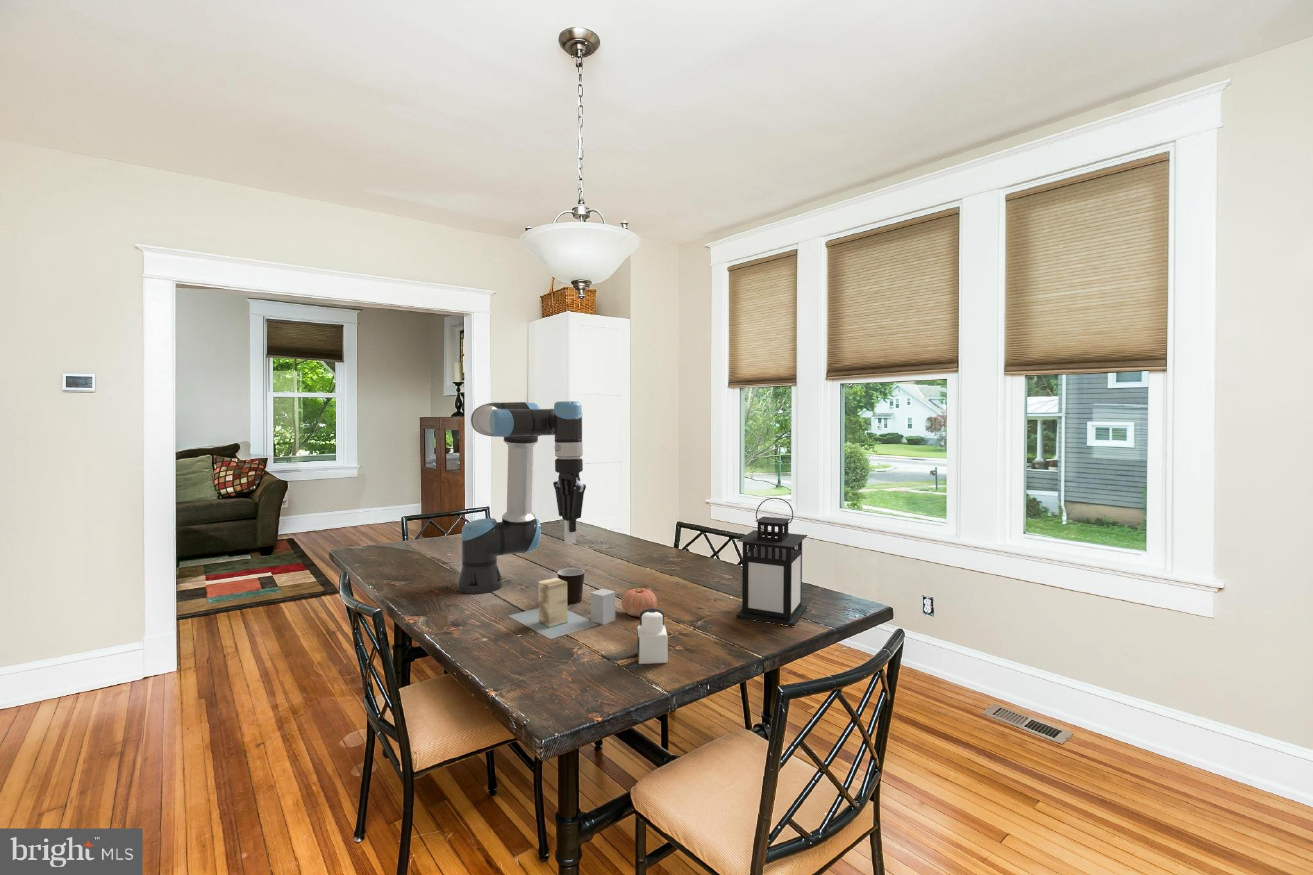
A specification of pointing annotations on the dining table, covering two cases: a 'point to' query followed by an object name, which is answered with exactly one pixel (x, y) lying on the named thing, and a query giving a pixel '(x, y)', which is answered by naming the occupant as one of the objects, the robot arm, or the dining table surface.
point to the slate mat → (573, 625)
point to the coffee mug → (573, 584)
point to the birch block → (552, 602)
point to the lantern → (772, 573)
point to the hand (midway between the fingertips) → (570, 543)
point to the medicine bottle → (652, 637)
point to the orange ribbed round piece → (638, 601)
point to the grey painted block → (602, 606)
